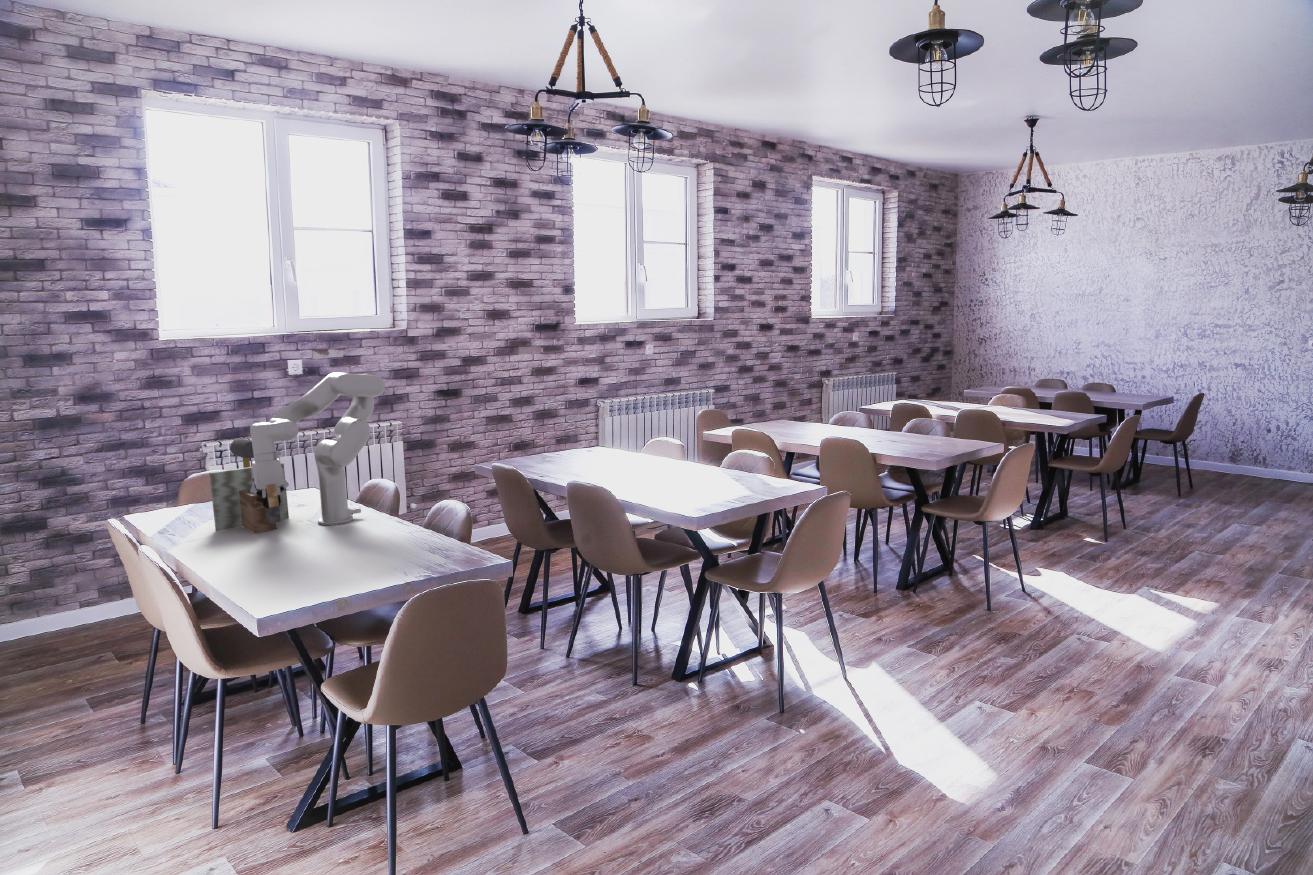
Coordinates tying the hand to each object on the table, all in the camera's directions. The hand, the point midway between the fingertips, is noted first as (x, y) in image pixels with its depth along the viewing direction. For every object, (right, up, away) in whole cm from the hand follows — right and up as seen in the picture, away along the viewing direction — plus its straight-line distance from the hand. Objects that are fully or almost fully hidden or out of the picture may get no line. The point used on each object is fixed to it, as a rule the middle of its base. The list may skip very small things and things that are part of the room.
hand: (272, 506), depth 307 cm
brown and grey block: (0, -6, +1) cm, 6 cm away
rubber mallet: (-25, -6, +37) cm, 45 cm away
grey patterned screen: (-10, -9, +11) cm, 17 cm away
